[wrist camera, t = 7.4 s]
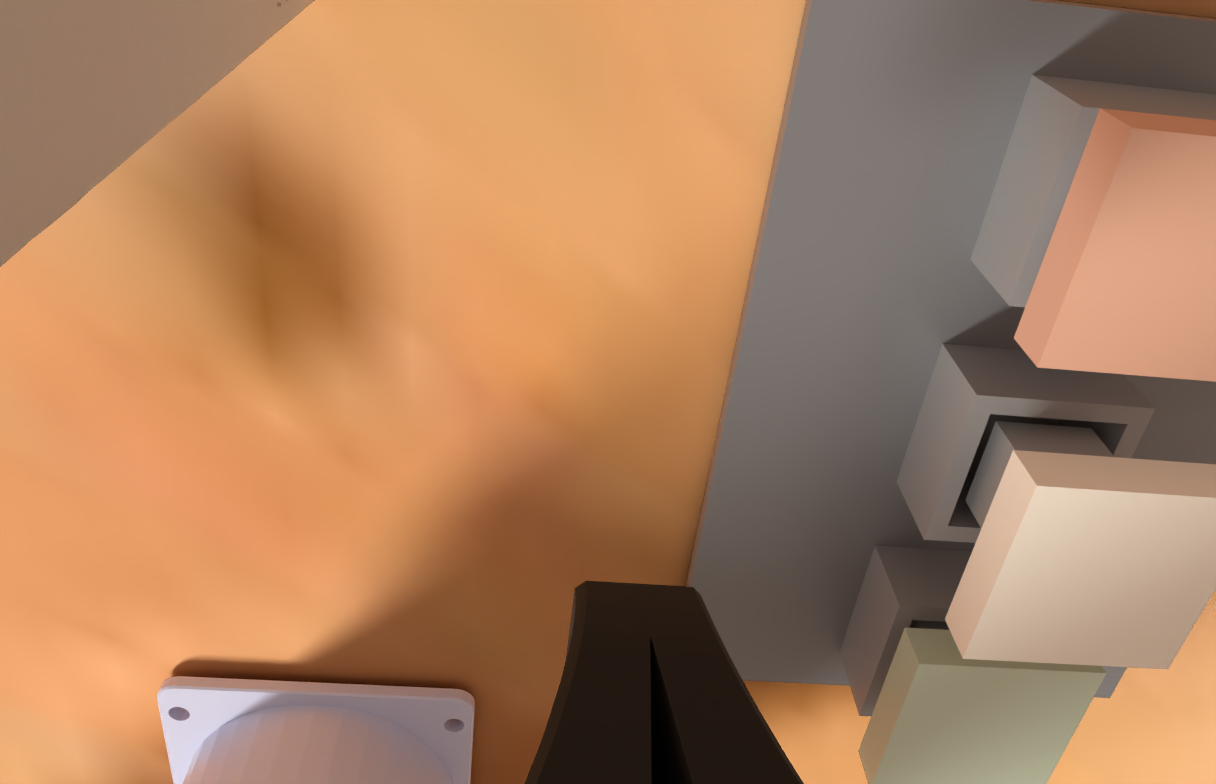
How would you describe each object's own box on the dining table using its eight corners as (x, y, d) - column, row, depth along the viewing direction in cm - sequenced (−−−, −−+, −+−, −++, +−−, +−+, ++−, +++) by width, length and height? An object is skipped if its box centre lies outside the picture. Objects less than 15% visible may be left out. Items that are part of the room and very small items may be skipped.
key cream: (1083, 545, 21) (1168, 669, 18) (906, 534, 21) (962, 658, 18) (1158, 389, 19) (1267, 501, 16) (962, 374, 19) (1037, 485, 16)
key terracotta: (1157, 292, 19) (1263, 386, 16) (963, 275, 19) (1037, 367, 16) (1249, 90, 17) (1390, 155, 14) (1033, 66, 17) (1132, 128, 14)
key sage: (984, 675, 25) (1040, 795, 22) (833, 668, 25) (869, 788, 22) (1037, 558, 23) (1106, 672, 20) (873, 548, 23) (919, 663, 20)
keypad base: (1103, 686, 27) (1147, 760, 25) (669, 665, 26) (678, 741, 24) (1454, 46, 18) (1568, 80, 16) (812, -28, 17) (846, -2, 15)
